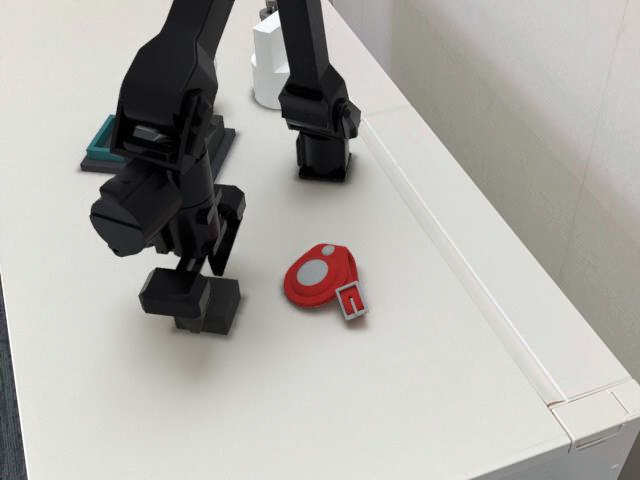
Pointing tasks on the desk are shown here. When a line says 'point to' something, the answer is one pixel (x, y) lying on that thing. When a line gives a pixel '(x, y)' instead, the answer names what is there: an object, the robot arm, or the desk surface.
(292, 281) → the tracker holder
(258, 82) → the base with upright slab
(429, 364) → the desk surface
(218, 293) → the black block
